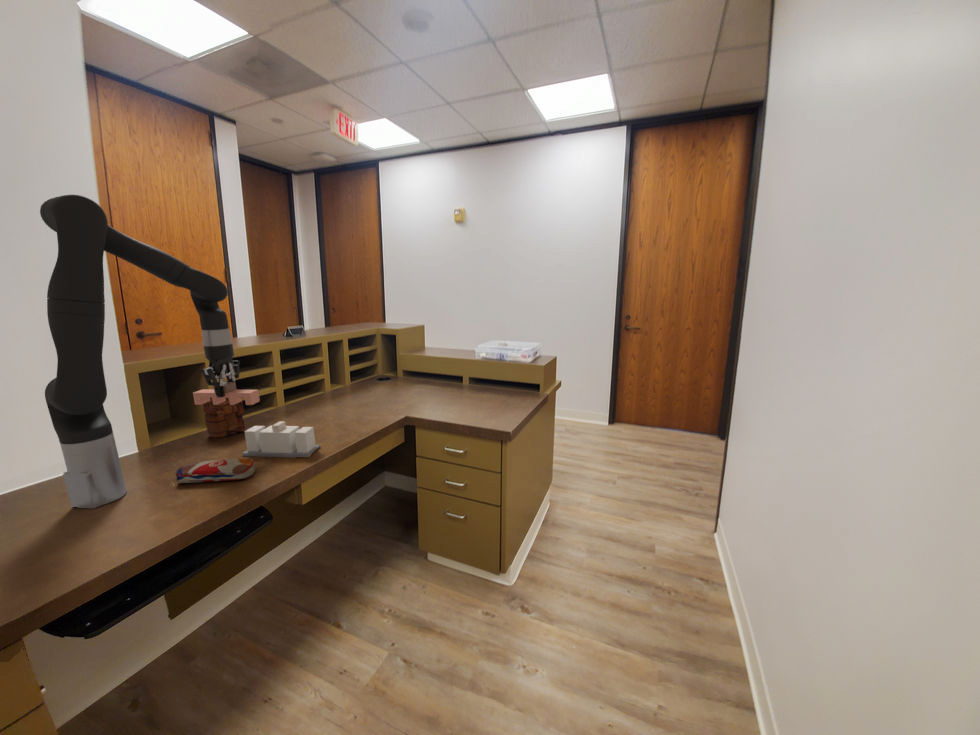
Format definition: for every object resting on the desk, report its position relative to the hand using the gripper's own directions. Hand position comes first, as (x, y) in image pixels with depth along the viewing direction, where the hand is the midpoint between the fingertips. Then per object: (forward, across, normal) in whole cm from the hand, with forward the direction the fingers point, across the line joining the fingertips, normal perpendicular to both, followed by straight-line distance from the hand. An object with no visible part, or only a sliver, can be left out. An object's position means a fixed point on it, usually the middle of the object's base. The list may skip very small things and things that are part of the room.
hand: (226, 394), depth 122 cm
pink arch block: (+3, 0, 0) cm, 3 cm away
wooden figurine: (+20, +14, +13) cm, 27 cm away
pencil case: (+20, -19, -8) cm, 28 cm away
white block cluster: (+20, -1, -17) cm, 26 cm away
